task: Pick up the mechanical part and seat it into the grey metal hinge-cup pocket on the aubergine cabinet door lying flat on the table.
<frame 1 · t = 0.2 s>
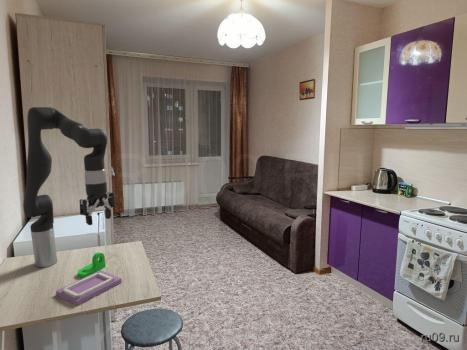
hand: (99, 221, 127), 28 cm above the table, fingers open, 8 cm apart
door panel: (90, 288, 132), on the table
mechanical part: (90, 272, 147), on the table
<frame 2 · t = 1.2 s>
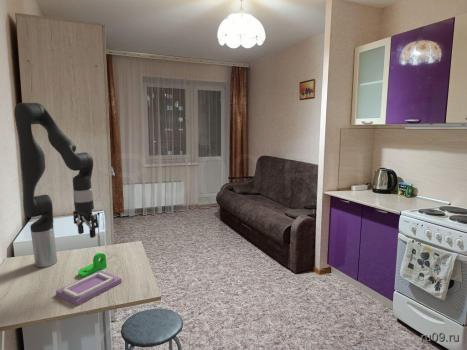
hand: (87, 235, 142), 18 cm above the table, fingers open, 8 cm apart
nothing on the table moved.
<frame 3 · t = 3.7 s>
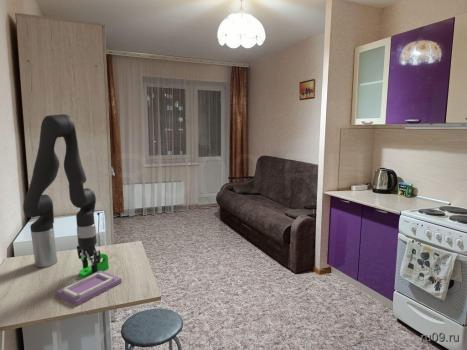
hand: (90, 269, 145), 2 cm above the table, fingers closed on mechanical part, 6 cm apart
mechanical part: (93, 272, 146), on the table, touching gripper
when the fingers open (5 cm above the table, at t = 10.0 s): mechanical part stays where it is, resting on door panel.
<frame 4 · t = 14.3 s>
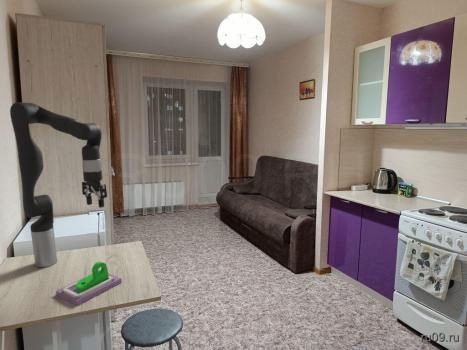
hand: (95, 205, 143), 30 cm above the table, fingers open, 8 cm apart
mechanical part: (91, 283, 132), point 2 cm above the table, touching door panel
at the end: mechanical part inside the target area (1.3 cm from its centre), point 2.2 cm above the table; the gripper is holding nothing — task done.
